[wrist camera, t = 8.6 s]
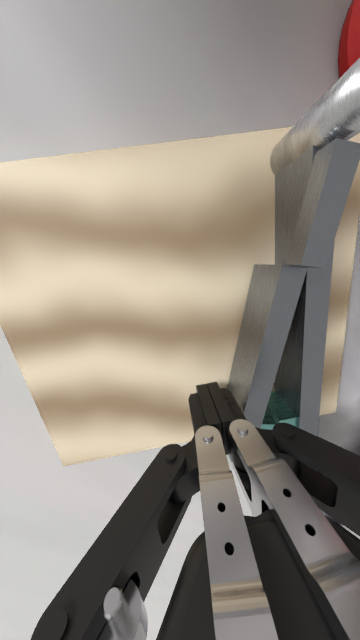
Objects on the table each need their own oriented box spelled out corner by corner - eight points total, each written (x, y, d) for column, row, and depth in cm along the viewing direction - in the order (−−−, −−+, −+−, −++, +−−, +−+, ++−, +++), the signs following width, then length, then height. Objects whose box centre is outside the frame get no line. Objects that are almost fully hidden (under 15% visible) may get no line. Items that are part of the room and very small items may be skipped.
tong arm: (272, 182, 11) (334, 137, 7) (313, 190, 11) (395, 151, 7) (218, 425, 16) (238, 480, 12) (249, 426, 16) (278, 480, 12)
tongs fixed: (252, 142, 11) (325, 46, 6) (303, 136, 11) (414, 37, 6) (260, 422, 17) (300, 487, 12) (293, 416, 17) (345, 477, 12)
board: (-45, 180, 11) (-69, 170, 10) (350, 131, 12) (370, 117, 11) (70, 452, 17) (63, 466, 16) (325, 403, 18) (336, 412, 17)
